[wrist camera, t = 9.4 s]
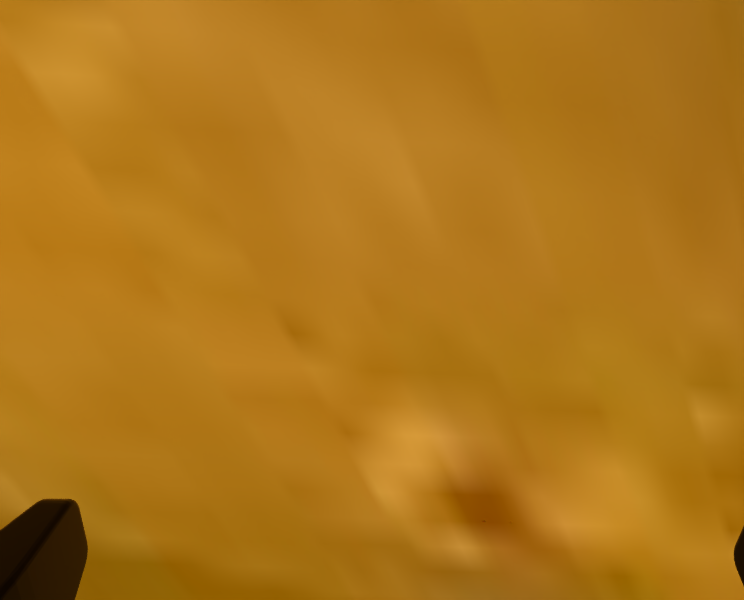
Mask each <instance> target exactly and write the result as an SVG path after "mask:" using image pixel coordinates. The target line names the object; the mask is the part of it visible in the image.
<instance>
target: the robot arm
mask: <svg viewBox="0 0 744 600" xmlns="http://www.w3.org/2000/svg"><path fill="white" fill-rule="evenodd" d="M87 551H88V546H87V540H86V535H85V531H84V527H83V522H82V518H81V514H80V509H79V506H78V504H77V503H76V501H74V500H71V499H43V500H41V501H39V502H37V503H35V504H34V505H33V506H31V507H30V508H29V509H27V510H26V511H25V512H23V513H22V514H21V515H19V516H18V517H17V518H15V519H14V520H13V521H12V522H10V523H9V524H8V525H6V526H5V527H4V528H2V529H1V530H0V600H75V597H76V594H77V591H78V587H79V584H80V581H81V577H82V574H83V571H84V567H85V564H86V559H87ZM734 561H735V565H736V568H737V571H738V573H739V576H740V578H741V581H742V583H743V585H744V527H743V529H742V531H741V533H740V536H739V538H738V540H737V543H736V545H735V548H734Z"/></svg>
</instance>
